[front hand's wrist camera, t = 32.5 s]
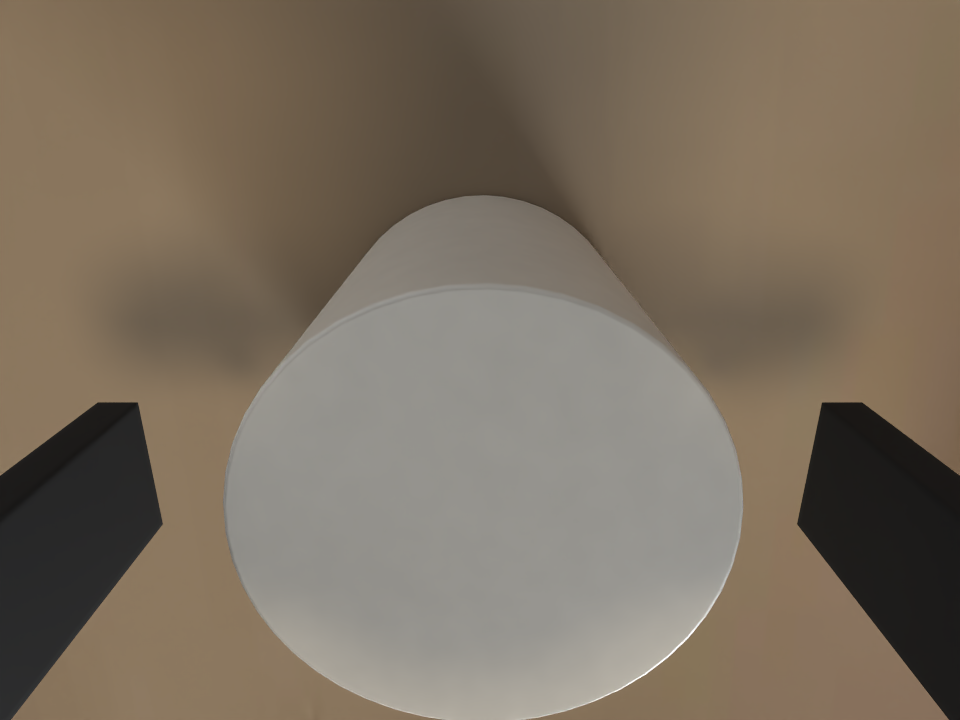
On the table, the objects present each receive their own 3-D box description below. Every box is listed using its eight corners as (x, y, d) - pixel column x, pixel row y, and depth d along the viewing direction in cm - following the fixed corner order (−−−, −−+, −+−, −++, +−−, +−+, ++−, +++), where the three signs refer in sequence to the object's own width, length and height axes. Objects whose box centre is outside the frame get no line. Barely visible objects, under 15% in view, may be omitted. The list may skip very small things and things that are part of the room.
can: (303, 237, 18) (131, 362, 9) (593, 160, 17) (711, 217, 8) (391, 482, 21) (323, 759, 12) (642, 426, 20) (768, 677, 11)
